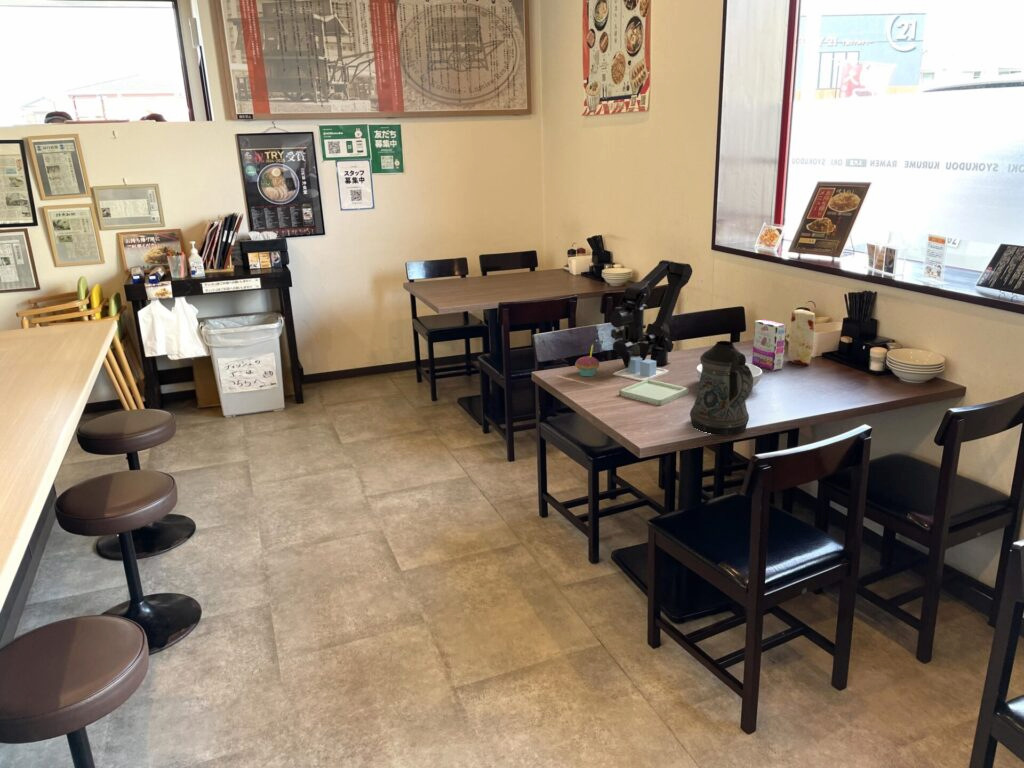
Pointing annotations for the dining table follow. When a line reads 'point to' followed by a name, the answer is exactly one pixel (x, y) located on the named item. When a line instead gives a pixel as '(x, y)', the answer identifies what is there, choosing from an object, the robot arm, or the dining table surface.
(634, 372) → the block
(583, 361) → the cupcake
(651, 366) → the block
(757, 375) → the serving bowl
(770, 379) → the dining table surface
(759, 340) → the candy bar box
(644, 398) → the tray
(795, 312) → the food model
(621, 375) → the dish
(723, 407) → the beer stein
